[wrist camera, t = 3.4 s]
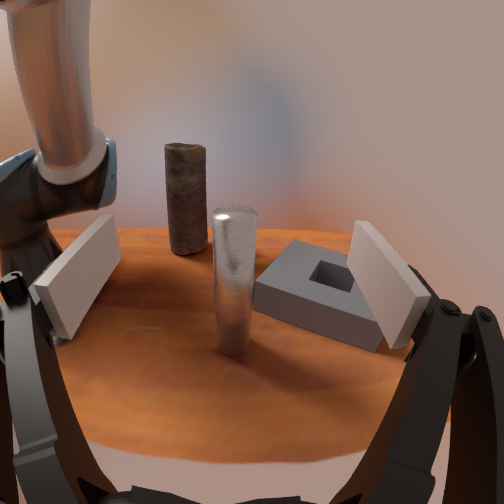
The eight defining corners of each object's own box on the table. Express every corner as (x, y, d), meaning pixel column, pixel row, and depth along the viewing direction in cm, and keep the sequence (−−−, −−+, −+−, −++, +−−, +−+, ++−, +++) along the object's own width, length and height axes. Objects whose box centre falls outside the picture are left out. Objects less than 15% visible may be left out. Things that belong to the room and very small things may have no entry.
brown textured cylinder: (177, 236, 57) (172, 140, 46) (211, 239, 56) (211, 140, 46) (165, 255, 50) (156, 147, 40) (203, 258, 50) (200, 146, 40)
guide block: (253, 309, 39) (255, 280, 36) (290, 264, 49) (293, 239, 47) (374, 352, 31) (388, 325, 29) (386, 294, 42) (395, 269, 40)
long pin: (210, 347, 32) (203, 215, 24) (228, 327, 35) (228, 202, 27) (238, 360, 30) (243, 226, 22) (255, 339, 34) (265, 211, 25)
